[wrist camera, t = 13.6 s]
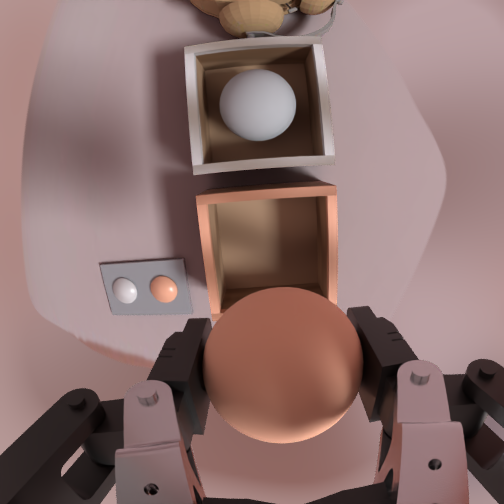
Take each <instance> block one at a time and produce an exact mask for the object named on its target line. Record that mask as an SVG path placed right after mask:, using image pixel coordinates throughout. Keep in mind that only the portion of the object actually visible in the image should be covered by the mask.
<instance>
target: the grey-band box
mask: <svg viewBox="0 0 504 504" xmlns="http://www.w3.org/2000/svg"><path fill="white" fill-rule="evenodd" d="M184 55H185V75H186V91H187V106H188V120H189V132H190V144H191V155H192V166H193V175H199V174H208V173H218V172H227V171H238V170H250V169H263V168H277V167H294V166H316V165H335V153H334V140H333V128H332V117H331V107H330V98H329V89H328V81H327V73H326V66H325V59H324V52H323V46H322V39H321V37H319V36H279V37H258V38H245V39H235V40H226V41H218V42H210V43H204V44H197V45H191V46H186V47H184ZM252 69H264V70H269V71H272V72H274V73H276V74H278V75H280V76H281V77H282V78H284V79H285V80H286V81H287V83H288V84H289V85H290V87H291V88H292V90H293V92H294V95H295V99H296V111H295V115H294V118H293V120H292V122H291V124H290V125H289V127H288V128H287V129H286V130H285V131H284V132H283V133H281V134H280V135H278V136H276V137H274V138H272V139H269V140H264V141H252V140H247V139H244V138H241V137H239V136H238V135H236V134H235V133H233V132H232V131H231V130H230V129H229V128H228V127H227V126H226V124H225V122H224V121H223V119H222V116H221V113H220V97H221V93H222V91H223V89H224V87H225V85H226V84H227V83H228V82H229V81H230V80H231V79H232V78H233V77H234V76H236V75H237V74H239V73H241V72H244V71H247V70H252Z"/></svg>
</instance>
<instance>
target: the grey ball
mask: <svg viewBox="0 0 504 504" xmlns="http://www.w3.org/2000/svg"><path fill="white" fill-rule="evenodd" d="M295 111H296V99H295V95H294V92H293V90H292V88H291V87H290V85H289V84H288V83H287V81H286V80H285V79H284V78H282V77H281V76H280V75H278V74H276V73H274V72H272V71H269V70H264V69H252V70H247V71H244V72H241V73H239V74H237V75H236V76H234V77H233V78H232V79H231V80H230V81H229V82H228V83H227V84H226V85H225V87H224V89H223V91H222V93H221V97H220V113H221V116H222V119H223V121H224V122H225V124H226V126H227V127H228V128H229V129H230V130H231V131H232V132H233V133H235V134H236V135H238V136H239V137H241V138H244V139H247V140H252V141H264V140H269V139H272V138H274V137H276V136H278V135H280V134H281V133H283V132H284V131H285V130H286V129H287V128H288V127H289V125H290V124H291V122H292V120H293V118H294V115H295Z"/></svg>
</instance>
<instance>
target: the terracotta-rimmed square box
mask: <svg viewBox="0 0 504 504" xmlns="http://www.w3.org/2000/svg"><path fill="white" fill-rule="evenodd" d="M196 204H197V212H198V221H199V229H200V237H201V245H202V252H203V260H204V267H205V274H206V281H207V288H208V295H209V301H210V308H211V314H212V320H213V321H218V320H219V318H220V317H221V316H222V315H223V313H224V312H225V311H226V310H228V309H229V308H230V307H231V306H232V305H234V304H235V303H236V302H238V301H239V300H241V299H242V298H244V297H246V296H248V295H250V294H252V293H255V292H258V291H261V290H265V289H269V288H276V287H293V288H300V289H304V290H308V291H311V292H314V293H316V294H319V295H321V296H323V297H325V298H326V299H328V300H329V301H331V302H332V303H334V304H335V305H336V306H337V281H338V221H337V189H336V185H332V184H329V183H326V182H323V181H312V182H293V183H277V184H263V185H250V186H238V187H227V188H216V189H208V190H206V191H204V192H202V193H200V194H198V195H196Z"/></svg>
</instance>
